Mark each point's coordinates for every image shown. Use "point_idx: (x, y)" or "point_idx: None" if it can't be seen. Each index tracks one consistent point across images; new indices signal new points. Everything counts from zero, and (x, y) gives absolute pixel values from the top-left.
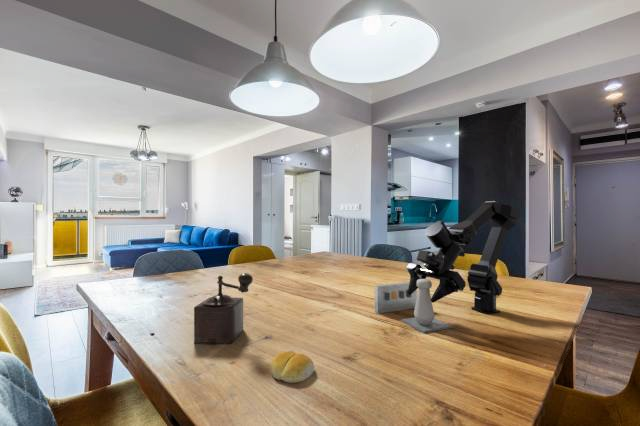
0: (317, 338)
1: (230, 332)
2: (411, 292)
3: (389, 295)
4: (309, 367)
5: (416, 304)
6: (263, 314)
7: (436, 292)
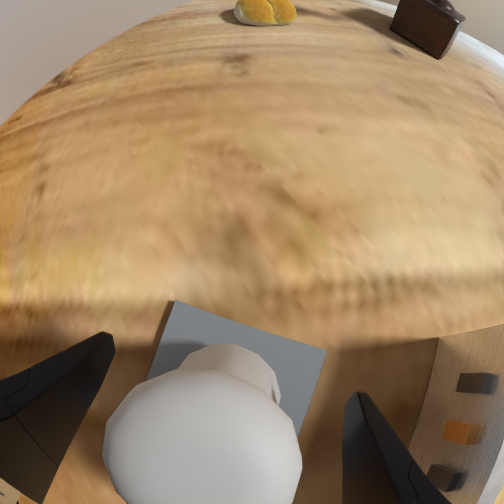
0: (354, 76)
1: (394, 16)
2: (347, 424)
3: (471, 392)
4: (238, 10)
5: (254, 367)
6: (498, 117)
7: (51, 361)
